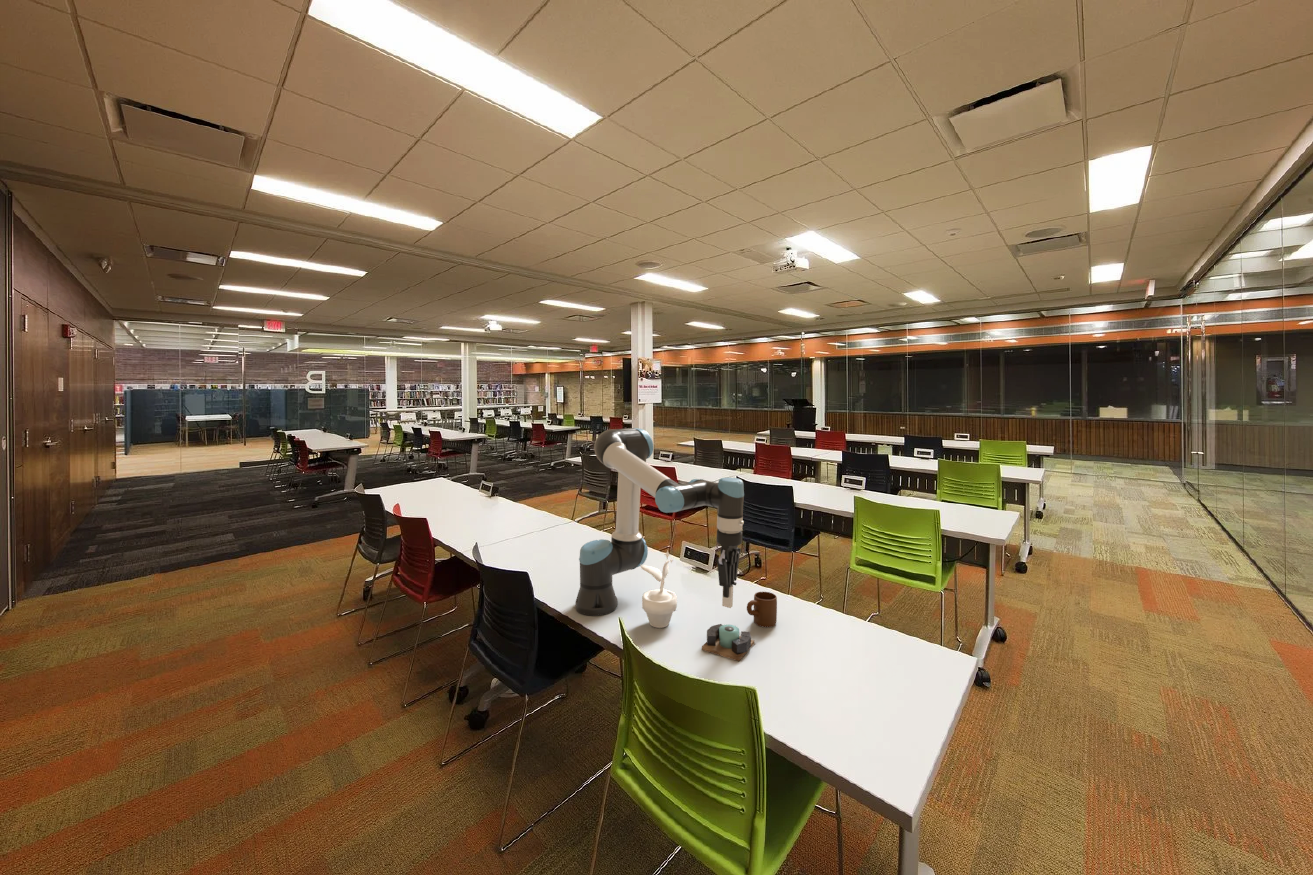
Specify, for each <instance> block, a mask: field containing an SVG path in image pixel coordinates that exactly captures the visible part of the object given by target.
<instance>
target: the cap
mask: <svg viewBox="0 0 1313 875" xmlns="http://www.w3.org/2000/svg"><path fill="white" fill-rule="evenodd" d="M739 636H740V628H739V627H738V626H736V625H733V624H722V626H720V628H719V644H720V645H721V646H722V647H724V648H729V649H732V641H733V640H737V639H739Z"/></svg>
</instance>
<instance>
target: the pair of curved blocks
mask: <svg viewBox="0 0 1313 875" xmlns="http://www.w3.org/2000/svg"><path fill="white" fill-rule="evenodd" d="M722 625H723V624H722V623H719V624H715V625H714V624H713V625H711V626H710V627H709V628H708V629H707V630H706V642H707V646H716V640H717V639H718V638H719V628H720V626H722ZM740 636H741V638H740V639H737V640H733V641H732V651H733V652H734V653H735V654H737V655H738V654H741V653H745V652H747V651H748V652H749V651H750V649H751V648H752V647H751V640H752V636H751V632H750V631H744V630H743V631H741V632H740ZM750 647H751V648H750ZM749 648H750V649H749ZM748 652H747V653H748Z"/></svg>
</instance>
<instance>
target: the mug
mask: <svg viewBox="0 0 1313 875" xmlns="http://www.w3.org/2000/svg"><path fill="white" fill-rule="evenodd" d="M752 608H753V609H752ZM746 611H747V613H748V614H749V615H750V616H753V622H754V624H755V625H756V626H758V627H762V628H773V627H775V626H776V625H777V621H778V620H777V618H778V617H777V616H778V597H777V595H776V594H774V593H772V592H769V591H758V592H755V593H754V595H753V599H752V600H749V602H748V603H747V604H746Z"/></svg>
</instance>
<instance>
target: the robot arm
mask: <svg viewBox="0 0 1313 875" xmlns="http://www.w3.org/2000/svg"><path fill="white" fill-rule="evenodd" d="M593 447H594V454H595V456H596V458H597V460H599V462H600V463H601V464H603V466H605V467H606V468H608V469H615V470H616V471H617V472H618V473H617V477H618V478H617V494H616V495H617V496H616V497H617V498H616V517H615V518H616V519H615V520H616V521H615V530H614V531H613V532H612V533H611V537H610V538H611V539H610V540H611V541H610V540H608V539H593V540H590V541H588V542H586V543H584V544H583V545H582V546H581V548H580V550H579V558H578V561H579V589H578V592H577V596H576V599H575V601H574V602H575V603H574V604H575V608H574V609H575V611H576V612H578V613H579V614H582V615H584V616H602V615H603V616H604V615H608V614H611V613H612V612H614V611H615V610H616V609H617V608H618V598H617V596H616V593H615V590H614V586H613V576H614V575H617V574H620V573H624V572H627V571H631V570H635V569H637V568H639V567H641V566H640V565H644V564H645V562H646V560H647V558H648V552H649V549H648V548H649V547H648V545H647V542H646V540H645V538H643V534H642V533H641V532H640V531H639V526H640V510H641V508H640V506H641V489H642V490H643V491H645V492H646V493H648V494H649V495H650V496H652V497H653V498H654V500H655V505H656V506H657V507H658V510H660V512H663V513H666V514H668V513H669V514H670V513H677V512H681V511H684V510H689V509H694V508H698V507H703V506H707V507H712V508H716V509H717V516H716V517H717V520H716V529H717V530H716V542H717V543H718V544H719V545H720V546H721V547H720V554H719V555H720V556H717V557H716V559H715V560H716V564H717V572H718V583H719V584H718V585H719V586H721V587H722V600H721V601H722V604H721V605H722V607H725V608H729V609H731V608H732V607H733V602H734V601H733V599H734V586H736V585H737V582H736V581H737V579H738V571H739V569H738V568H739V562H740V556H741V552H742V549H741V548H740V547H738V546H740V545H741V544H742V543H743V531H742V530H743V525H744V523H745V521H744V520H743V518H744V513H743V512H744V497H745V491H744V490H745V488H744V487H745V486H744V482H743V480H742V479H740V478H739V477H738V478H736V477H721V478H719V479H718V482H715V481H709V480H705V479H704V478H700V479H698V478H693V479H691V480H690V481H688V483H678V482H677V481H675V480H673V479H671V478H670V477H668V476H667V475H665V474H664V473H663V472H661V471H659V470H658V469H656V468H655V467H653V466H652V465H650V464H649V463H648V462H647V460H648V459H649V458H651V456H652V455H653V452H654V442H653V439H652V436H651V435H650V434H649V432H648V431H647V430H646V429H643V428H639V427H638V428H637V427H629V428H616V429H615V428H614V429H613V428H612V429H607V430H604V431H603V432H601V433H600V434H599V435H598V436H597V437H596V439H595V441H594V446H593Z"/></svg>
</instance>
